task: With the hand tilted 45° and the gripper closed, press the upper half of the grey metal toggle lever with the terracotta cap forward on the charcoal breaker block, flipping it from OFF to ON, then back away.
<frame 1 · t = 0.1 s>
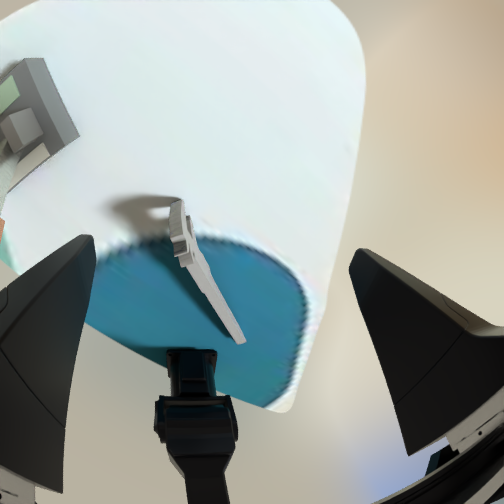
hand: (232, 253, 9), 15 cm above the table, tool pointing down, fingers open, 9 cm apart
caliper: (215, 283, 30), on the table
breaker housing: (23, 139, 17), on the table
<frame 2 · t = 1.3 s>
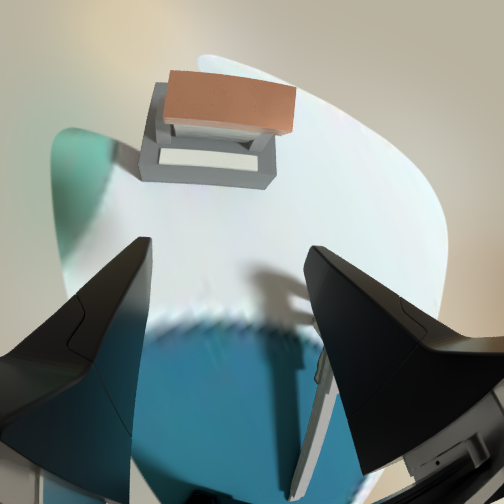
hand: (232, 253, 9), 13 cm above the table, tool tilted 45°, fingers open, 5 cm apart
toggle lever: (219, 117, 15), point 8 cm above the table, hinge at -25.0°
caliper: (305, 412, 22), on the table
breaker housing: (206, 152, 23), on the table
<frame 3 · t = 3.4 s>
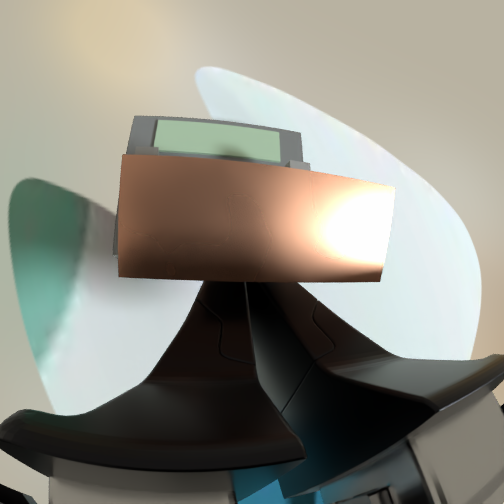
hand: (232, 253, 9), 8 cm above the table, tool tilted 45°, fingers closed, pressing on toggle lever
toggle lever: (232, 205, 9), point 8 cm above the table, hinge at -23.1°, touching gripper
breaker housing: (209, 216, 17), on the table
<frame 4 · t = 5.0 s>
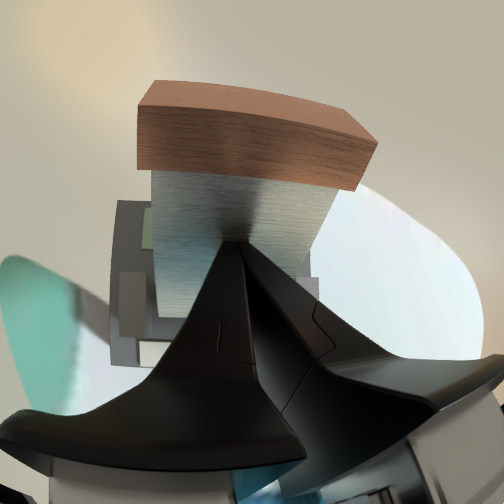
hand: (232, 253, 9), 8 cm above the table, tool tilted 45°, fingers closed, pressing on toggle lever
toggle lever: (231, 230, 9), point 8 cm above the table, hinge at 31.9°, touching gripper
breaker housing: (207, 306, 16), on the table
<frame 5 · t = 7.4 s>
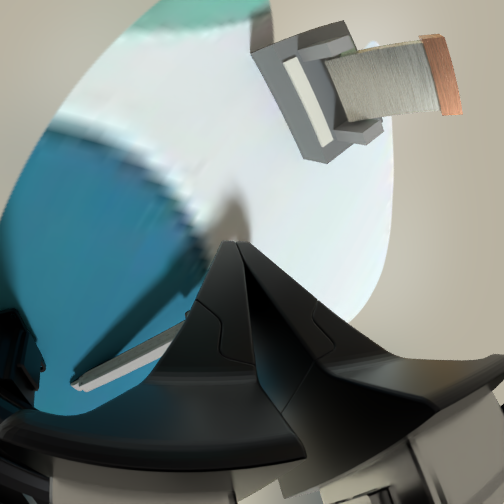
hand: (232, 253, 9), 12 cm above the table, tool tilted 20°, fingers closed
toggle lever: (395, 78, 15), point 8 cm above the table, hinge at 32.0°
caliper: (150, 328, 23), on the table
breaker housing: (305, 92, 21), on the table
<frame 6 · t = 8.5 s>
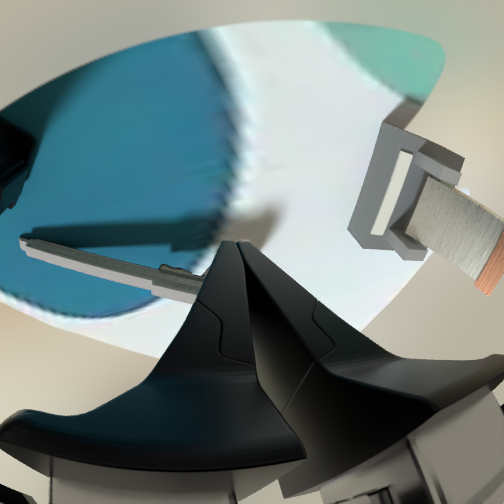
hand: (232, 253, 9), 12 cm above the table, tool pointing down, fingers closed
toggle lever: (464, 231, 17), point 8 cm above the table, hinge at 32.0°
caliper: (122, 251, 22), on the table
breaker housing: (391, 183, 23), on the table
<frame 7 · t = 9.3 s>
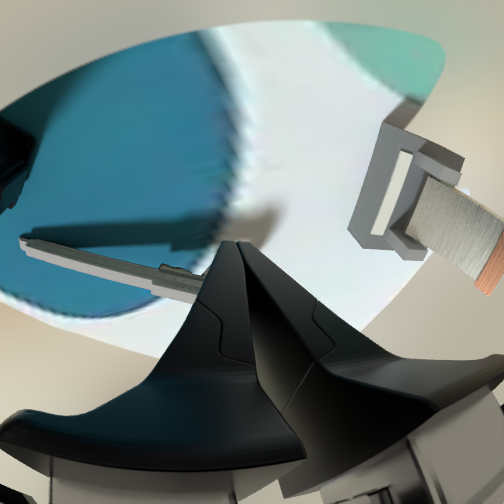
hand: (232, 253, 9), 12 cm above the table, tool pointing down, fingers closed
toggle lever: (464, 231, 17), point 8 cm above the table, hinge at 32.0°
caliper: (122, 251, 22), on the table
breaker housing: (391, 183, 23), on the table
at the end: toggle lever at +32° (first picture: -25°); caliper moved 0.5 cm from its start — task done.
